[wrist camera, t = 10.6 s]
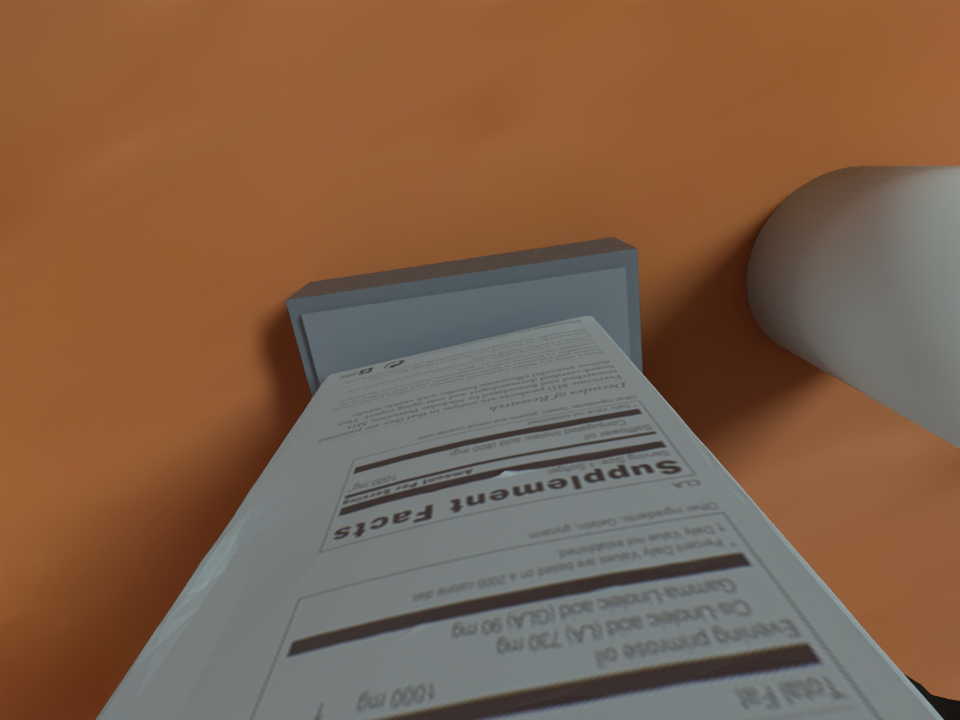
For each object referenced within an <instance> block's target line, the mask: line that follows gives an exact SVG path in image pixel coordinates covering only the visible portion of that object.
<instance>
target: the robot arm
mask: <svg viewBox="0 0 960 720" xmlns="http://www.w3.org/2000/svg"><path fill="white" fill-rule="evenodd" d="M904 675H905V674H904ZM905 676H906V675H905ZM906 677H907V678H908V679H909V681H910V682H911V683H912V684H913V685H914V686H915V687H916V688H917V690H918V691H919V692H920V693H921V694H922V695H923V696H924V697H925V699H926V700H927V701H928V702H929V703H930V704H931V705H932V707H933V708H934V709H935V710H936V711H937V712H938V714H939V715H940V716H941V717H942V718H943V719H944V720H960V701H957V700H951V699H946V698H942V697H938V696H934V695H931V694H930V693H929V692H928V691H927V690H926V689H925V688H924V687H923V686H922V685H921V684H919V683H917V682H916V681H914V680H913V679H911V678H909V677H908V676H906Z"/></svg>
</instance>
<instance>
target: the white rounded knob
mask: <svg viewBox="0 0 960 720" xmlns="http://www.w3.org/2000/svg"><path fill="white" fill-rule="evenodd" d="M746 291H747V298H748V303H749V306H750V309H751V312H752V315H753V317H754V319H755V321H756V323H757V324H758V326H759V327H760V328H761V330H762V331H763V332H764V333H765V334H766V335H767V336H768V337H769V338H770V339H771V340H772V341H773V342H775V343H776V344H778V345H779V346H781V347H782V348H784V349H786V350H788V351H789V352H791V353H793V354H795V355H796V356H798V357H800V358H802V359H803V360H805V361H807V362H809V363H810V364H812V365H814V366H816V367H818V368H819V369H821V370H823V371H825V372H826V373H828V374H830V375H832V376H833V377H835V378H837V379H839V380H840V381H842V382H844V383H846V384H847V385H849V386H851V387H853V388H854V389H856V390H858V391H860V392H861V393H863V394H865V395H867V396H868V397H870V398H872V399H874V400H875V401H877V402H879V403H881V404H882V405H884V406H886V407H888V408H890V409H891V410H893V411H895V412H897V413H898V414H900V415H902V416H904V417H905V418H907V419H909V420H911V421H912V422H914V423H916V424H918V425H919V426H921V427H923V428H925V429H926V430H928V431H930V432H932V433H933V434H935V435H937V436H939V437H940V438H942V439H944V440H946V441H947V442H949V443H951V444H953V445H955V446H956V447H958V448H960V166H856V167H847V168H843V169H838V170H835V171H832V172H829V173H826V174H823V175H821V176H819V177H817V178H815V179H813V180H811V181H809V182H808V183H806V184H805V185H803V186H802V187H800V188H798V189H797V190H796V191H795V192H793V193H792V194H791V195H790V196H789V197H787V198H786V199H785V200H784V201H783V202H782V203H781V204H780V205H779V206H778V207H777V208H776V210H775V211H774V212H773V213H772V215H771V216H770V217H769V218H768V220H767V221H766V223H765V225H764V226H763V228H762V229H761V231H760V233H759V235H758V237H757V239H756V241H755V243H754V246H753V249H752V252H751V254H750V258H749V263H748V267H747V276H746Z"/></svg>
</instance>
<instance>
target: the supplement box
mask: <svg viewBox="0 0 960 720" xmlns="http://www.w3.org/2000/svg"><path fill="white" fill-rule="evenodd" d="M96 720H944V719H943V718H942V717H941V716H940V715H939V714H938V712H937V711H936V710H935V709H934V708H933V707H932V705H931V704H930V703H929V702H928V701H927V700H926V699H925V697H924V696H923V695H922V694H921V693H920V692H919V691H918V690H917V688H916V687H915V686H914V685H913V684H912V683H911V682H910V681H909V679H908V678H907V677H906V676H905V675H904V674H903V673H902V672H901V670H900V669H899V668H898V667H897V666H896V665H895V664H894V663H893V661H892V660H891V659H890V658H889V657H888V656H887V655H886V654H885V652H884V651H883V650H882V649H881V648H880V647H879V646H878V645H877V643H876V642H875V641H874V640H873V639H872V638H871V637H870V635H869V634H868V633H867V632H866V631H865V630H864V628H863V627H862V626H861V625H860V624H859V622H858V621H857V620H856V619H855V618H854V617H853V615H852V614H851V613H850V612H849V611H848V610H847V608H846V607H845V606H844V605H843V604H842V603H841V601H840V600H839V599H838V598H837V597H836V596H835V594H834V593H833V592H832V591H831V590H830V589H829V587H828V586H827V585H826V584H825V583H824V582H823V580H822V579H821V578H820V577H819V576H818V575H817V574H816V572H815V571H814V570H813V569H812V568H811V567H810V566H809V564H808V563H807V562H806V561H805V560H804V559H803V558H802V556H801V555H800V554H799V553H798V552H797V551H796V550H795V548H794V547H793V546H792V545H791V544H790V543H789V542H788V540H787V539H786V538H785V537H784V536H783V535H782V534H781V532H780V531H779V530H778V529H777V528H776V527H775V525H774V524H773V523H772V522H771V521H770V520H769V519H768V517H767V516H766V515H765V514H764V513H763V512H762V511H761V509H760V508H759V507H758V506H757V505H756V504H755V503H754V501H753V500H752V499H751V498H750V497H749V496H748V494H747V493H746V492H745V491H744V490H743V489H742V488H741V486H740V485H739V484H738V483H737V482H736V481H735V479H734V478H733V477H732V476H731V475H730V474H729V472H728V471H727V470H726V469H725V468H724V467H723V466H722V464H721V463H720V462H719V461H718V460H717V459H716V457H715V456H714V455H713V454H712V453H711V452H710V451H709V449H708V448H707V447H706V446H705V445H704V444H703V443H702V442H701V441H700V439H699V438H698V437H697V436H696V435H695V434H694V433H693V432H692V431H691V430H690V428H689V427H688V426H687V425H686V424H685V422H684V421H683V420H682V419H681V417H680V416H679V415H678V414H677V413H676V411H675V410H674V409H673V408H672V407H671V406H670V405H669V404H668V402H667V401H666V400H665V399H664V398H663V397H662V396H661V394H660V393H659V392H658V391H657V390H656V389H655V387H654V386H653V385H652V384H651V383H650V382H649V381H648V379H647V378H646V377H645V376H644V375H643V374H642V373H641V371H640V370H639V369H638V368H637V367H636V366H635V365H634V363H633V362H632V361H631V360H630V359H629V358H628V357H627V355H626V354H625V353H624V352H623V351H622V350H621V348H620V347H619V346H618V345H617V344H616V343H615V342H614V341H613V339H612V338H611V337H610V336H609V335H608V334H607V333H606V331H605V330H604V329H603V328H602V327H601V325H600V324H599V323H597V322H596V321H595V319H594V318H593V317H592V316H582V317H577V318H572V319H568V320H563V321H558V322H554V323H549V324H545V325H541V326H536V327H532V328H528V329H523V330H519V331H515V332H510V333H506V334H502V335H497V336H493V337H489V338H485V339H480V340H476V341H472V342H467V343H463V344H459V345H455V346H450V347H446V348H442V349H437V350H433V351H429V352H424V353H420V354H416V355H411V356H407V357H403V358H398V359H394V360H390V361H386V362H382V363H378V364H373V365H369V366H365V367H361V368H357V369H352V370H348V371H343V372H339V373H335V374H330V375H329V376H328V377H326V379H325V380H324V382H323V383H322V384H321V386H320V387H319V389H318V390H317V392H316V393H315V394H314V396H313V398H312V399H311V401H310V402H309V404H308V405H307V407H306V408H305V410H304V411H303V413H302V414H301V416H300V417H299V419H298V420H297V422H296V423H295V425H294V426H293V428H292V429H291V431H290V432H289V433H288V435H287V436H286V438H285V439H284V441H283V442H282V444H281V445H280V447H279V448H278V450H277V451H276V453H275V454H274V456H273V457H272V459H271V460H270V462H269V463H268V465H267V466H266V468H265V469H264V471H263V472H262V474H261V475H260V476H259V478H258V479H257V481H256V482H255V484H254V485H253V487H252V488H251V489H250V491H249V492H248V494H247V495H246V497H245V499H244V500H243V502H242V503H241V505H240V507H239V508H238V510H237V512H236V513H235V515H234V516H233V518H232V519H231V521H230V522H229V524H228V525H227V526H226V528H225V529H224V531H223V532H222V534H221V535H220V537H219V538H218V539H217V541H216V542H215V543H214V545H213V546H212V548H211V549H210V550H209V552H208V553H207V554H206V556H205V557H204V558H203V560H202V561H201V563H200V564H199V566H198V567H197V569H196V570H195V572H194V574H193V575H192V577H191V578H190V580H189V581H188V583H187V584H186V586H185V587H184V589H183V590H182V592H181V593H180V595H179V596H178V598H177V599H176V601H175V602H174V604H173V605H172V607H171V608H170V610H169V611H168V613H167V614H166V616H165V617H164V619H163V620H162V622H161V623H160V624H159V626H158V627H157V629H156V630H155V632H154V633H153V635H152V636H151V638H150V639H149V641H148V642H147V644H146V645H145V647H144V648H143V650H142V651H141V653H140V654H139V656H138V657H137V659H136V660H135V662H134V663H133V665H132V666H131V668H130V669H129V671H128V672H127V674H126V675H125V677H124V678H123V680H122V681H121V683H120V684H119V686H118V687H117V689H116V690H115V692H114V693H113V695H112V696H111V697H110V699H109V700H108V702H107V703H106V705H105V706H104V708H103V709H102V711H101V712H100V714H99V715H98V717H97V718H96Z"/></svg>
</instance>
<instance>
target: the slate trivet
mask: <svg viewBox="0 0 960 720" xmlns="http://www.w3.org/2000/svg"><path fill="white" fill-rule="evenodd" d="M286 304H287V307H288V311H289V315H290V318H291V322H292V326H293V329H294V333H295V337H296V341H297V344H298V348H299V352H300V355H301V359H302V363H303V366H304V370H305V374H306V377H307V381H308V385H309V388H310V392H311V396H312V398H313V396H314V394H315V393H316V392H317V390H318V389H319V387H320V386H321V384H322V383H323V382H324V380H325V379H326V377H328V376H329V375H330V374H335V373H339V372H343V371H348V370H352V369H357V368H361V367H365V366H369V365H373V364H378V363H382V362H386V361H390V360H394V359H398V358H403V357H407V356H411V355H416V354H420V353H424V352H429V351H433V350H437V349H442V348H446V347H450V346H455V345H459V344H463V343H467V342H472V341H476V340H480V339H485V338H489V337H493V336H497V335H502V334H506V333H510V332H515V331H519V330H523V329H528V328H532V327H536V326H541V325H545V324H549V323H554V322H558V321H563V320H568V319H572V318H577V317H582V316H592V317H593V318H594V319H595V321H596V322H597V323H599V324H600V325H601V327H602V328H603V329H604V330H605V331H606V333H607V334H608V335H609V336H610V337H611V338H612V339H613V341H614V342H615V343H616V344H617V345H618V346H619V347H620V348H621V350H622V351H623V352H624V353H625V354H626V355H627V357H628V358H629V359H630V360H631V361H632V362H633V363H634V365H635V366H636V367H637V368H638V369H639V370H640V371H641V373H642V374H643V370H642V347H641V323H640V300H639V277H638V253H637V248H635V247H633V246H631V245H629V244H627V243H625V242H623V241H621V240H619V239H616V238H614V237H612V238H606V239H599V240H592V241H585V242H579V243H572V244H565V245H558V246H552V247H545V248H538V249H531V250H525V251H518V252H511V253H505V254H498V255H491V256H484V257H478V258H471V259H464V260H457V261H451V262H444V263H437V264H430V265H424V266H417V267H410V268H403V269H397V270H390V271H383V272H376V273H370V274H363V275H356V276H349V277H343V278H336V279H329V280H322V281H316V282H309V283H308V284H307V285H305V286H304V287H303V288H301V289H300V290H299V291H297V292H296V293H295V294H293V295H292V296H291V297H289V298H288V299H287V300H286Z"/></svg>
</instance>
